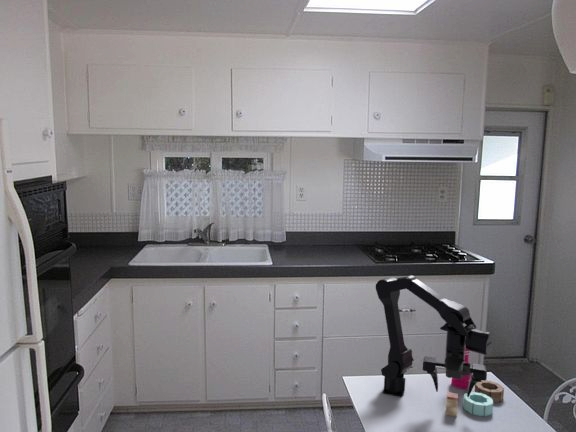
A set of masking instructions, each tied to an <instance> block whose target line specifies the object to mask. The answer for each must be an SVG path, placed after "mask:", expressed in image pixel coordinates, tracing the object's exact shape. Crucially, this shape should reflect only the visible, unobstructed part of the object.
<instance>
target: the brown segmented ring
mask: <svg viewBox="0 0 576 432" xmlns="http://www.w3.org/2000/svg"><path fill="white" fill-rule="evenodd" d="M474 392H477V393H483V394H485V395H487V396H489V397H490V398H492V399H493V403H499V402H502V401H503V400H504V392H505V388H504V387H503V386H502V385H501V384H500V383H498V382H495V381H492V380H488V379H486V380H485V381H484V380H482V381H481V382H477V383H476V384H475V386H474Z"/></svg>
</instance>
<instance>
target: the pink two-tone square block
mask: <svg viewBox="0 0 576 432" xmlns="http://www.w3.org/2000/svg"><path fill="white" fill-rule="evenodd" d="M458 402H459V394H458V393H455V392H450V391H446V406H445V408H446V409H445V416H452V417H458V416H457V415H458V405H459V404H458Z"/></svg>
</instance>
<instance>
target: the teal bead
mask: <svg viewBox="0 0 576 432" xmlns="http://www.w3.org/2000/svg"><path fill="white" fill-rule="evenodd" d="M462 403H463V404H462V405H463V409H464V411H466V412H468V413H469V414H471V415H474V416H478V417H479V416H480V417H488V416H492V415H493V413H494V412H493V409H494V402H493V399H492V398H490V397H489V396H487V395H485V394H483V393H477V392H475V391H471V393H470V395H469V397H467V392H466V393H464V394H463V402H462Z"/></svg>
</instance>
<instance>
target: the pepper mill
mask: <svg viewBox="0 0 576 432" xmlns="http://www.w3.org/2000/svg"><path fill="white" fill-rule="evenodd" d="M470 355H471V351H469V350H468V349H466V345H465V359H464V361H465V362H466V363H470V362H469V357H470ZM470 374H471V373H470ZM469 379H470V375H466V376H463V378H462V379H457V378H451V386H453V387H454V388H457V389H461V390H465V389H467V390H468V385H469Z"/></svg>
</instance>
